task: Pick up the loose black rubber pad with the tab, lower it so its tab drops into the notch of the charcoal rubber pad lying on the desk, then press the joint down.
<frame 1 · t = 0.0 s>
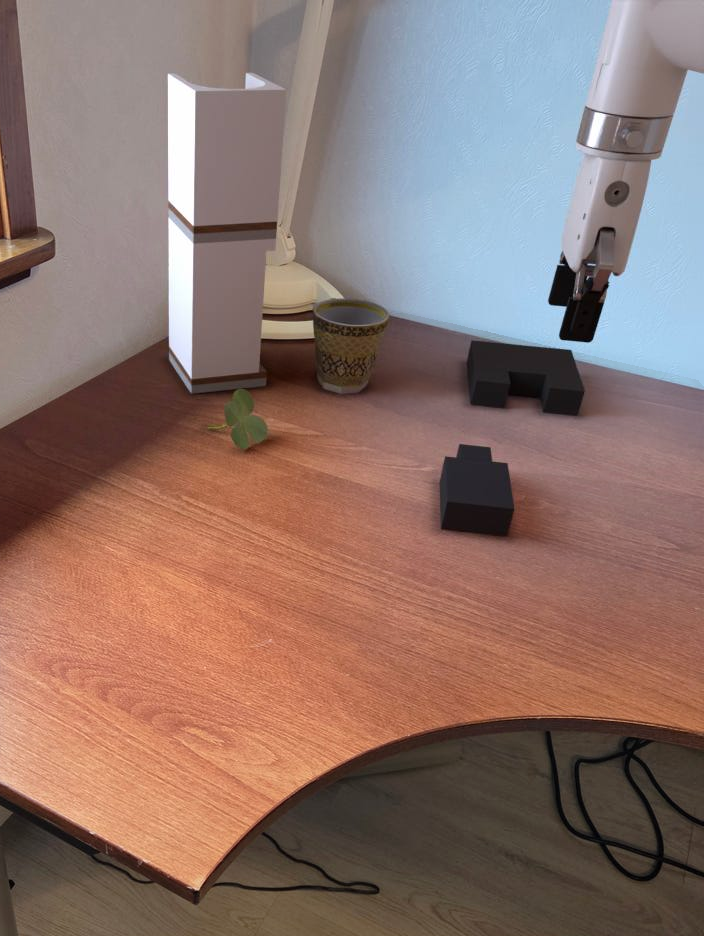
hand: (568, 322, 92), 19 cm above the table, tool pointing down, fingers open, 9 cm apart
notch pad: (519, 388, 125), on the table
green clover leaf: (238, 438, 111), on the table
ceramic cup: (338, 380, 125), on the table
tall square vase: (216, 373, 126), on the table
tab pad: (471, 508, 100), on the table
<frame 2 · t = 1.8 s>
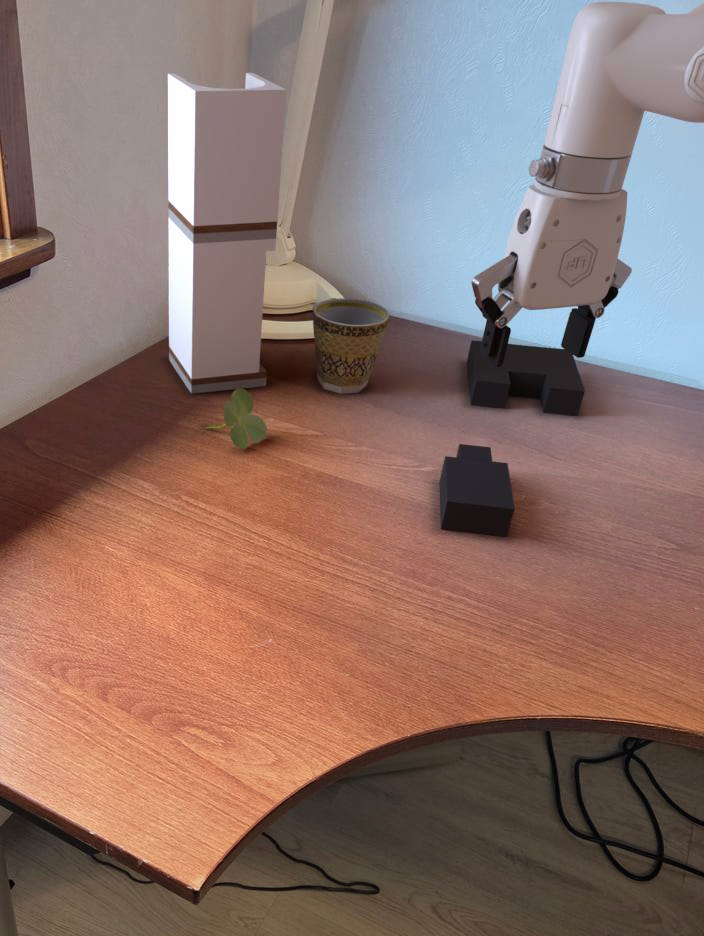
hand: (531, 357, 91), 17 cm above the table, tool pointing down, fingers open, 9 cm apart
nothing on the table moved.
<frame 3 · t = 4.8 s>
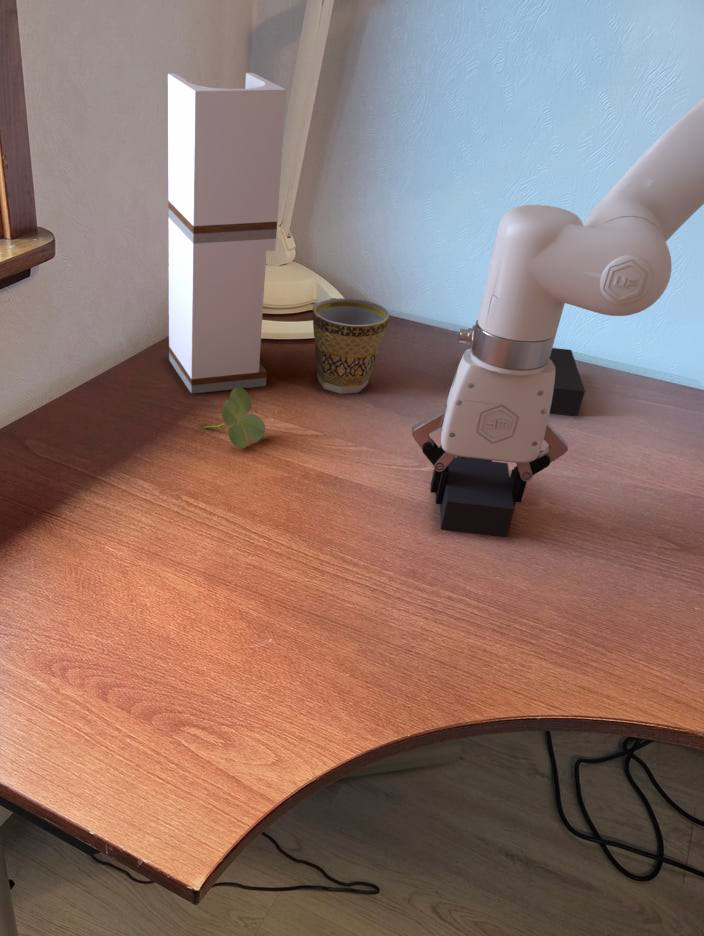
hand: (473, 501, 99), 1 cm above the table, tool pointing down, fingers closed on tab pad, 7 cm apart
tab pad: (471, 508, 100), on the table, touching gripper
everything else where it was.
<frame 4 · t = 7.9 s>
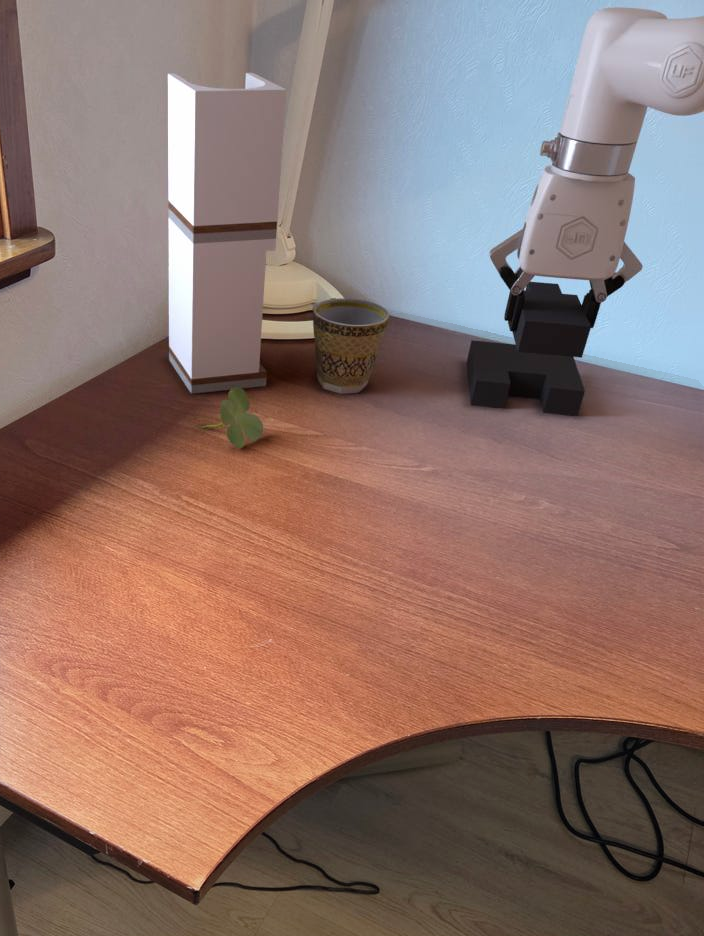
hand: (546, 329, 102), 15 cm above the table, tool pointing down, fingers closed on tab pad, 7 cm apart
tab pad: (543, 337, 103), point 14 cm above the table, touching gripper
everything else where it was.
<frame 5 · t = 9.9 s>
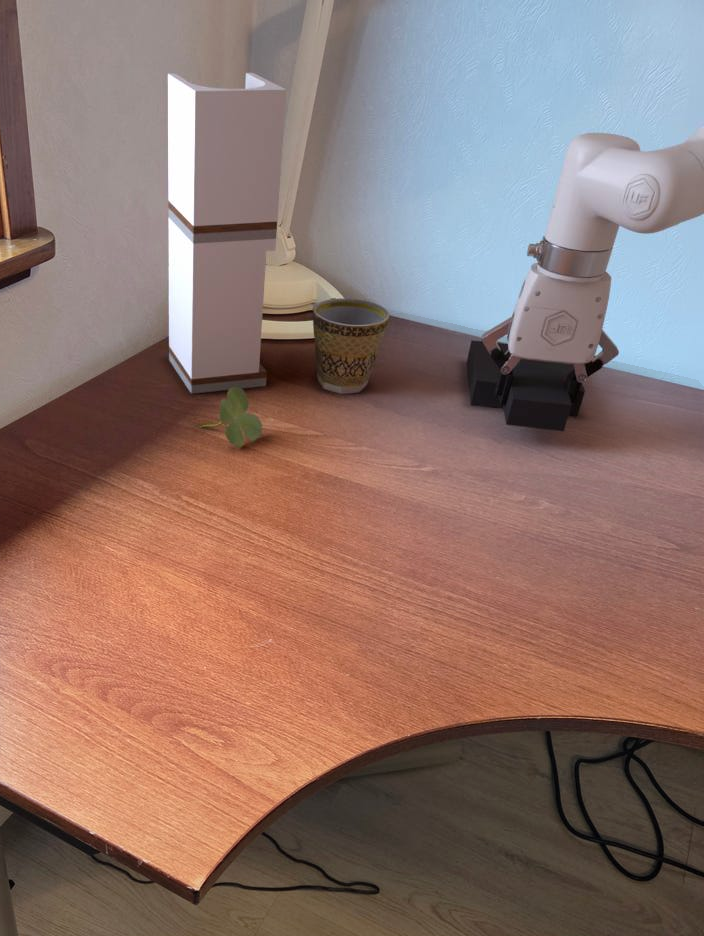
hand: (533, 403, 113), 3 cm above the table, tool pointing down, fingers closed on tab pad, 7 cm apart
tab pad: (531, 410, 114), point 2 cm above the table, touching gripper
everything else where it was.
when the fingers open (1 cm above the table, at t = 11.2 s): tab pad stays where it is, on the table.
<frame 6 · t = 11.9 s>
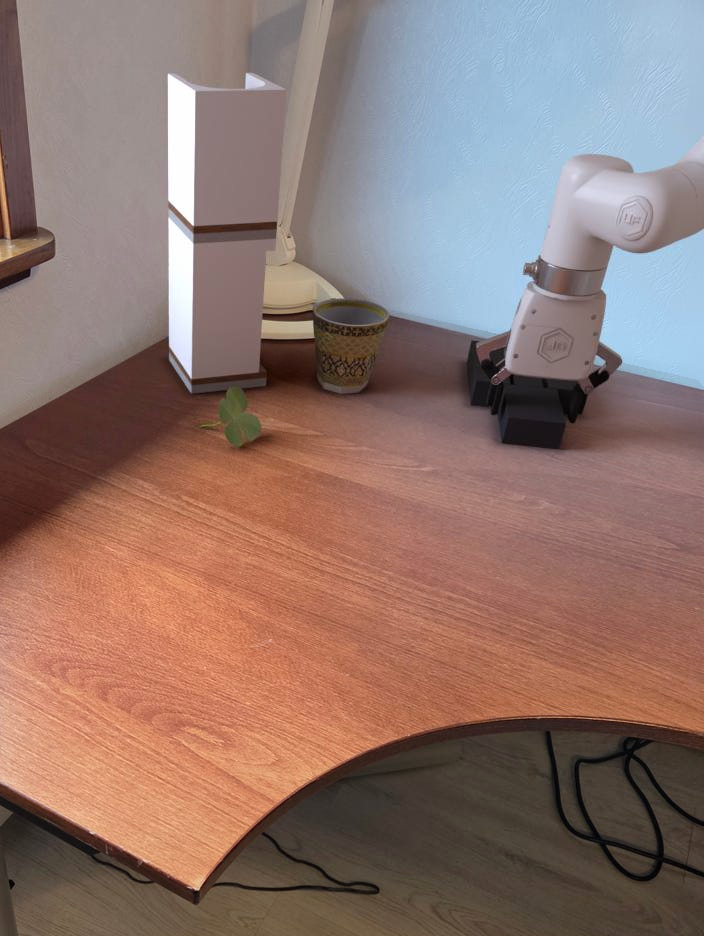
hand: (531, 414, 114), 2 cm above the table, tool pointing down, fingers open, 9 cm apart
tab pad: (526, 427, 116), on the table
everything else where it was.
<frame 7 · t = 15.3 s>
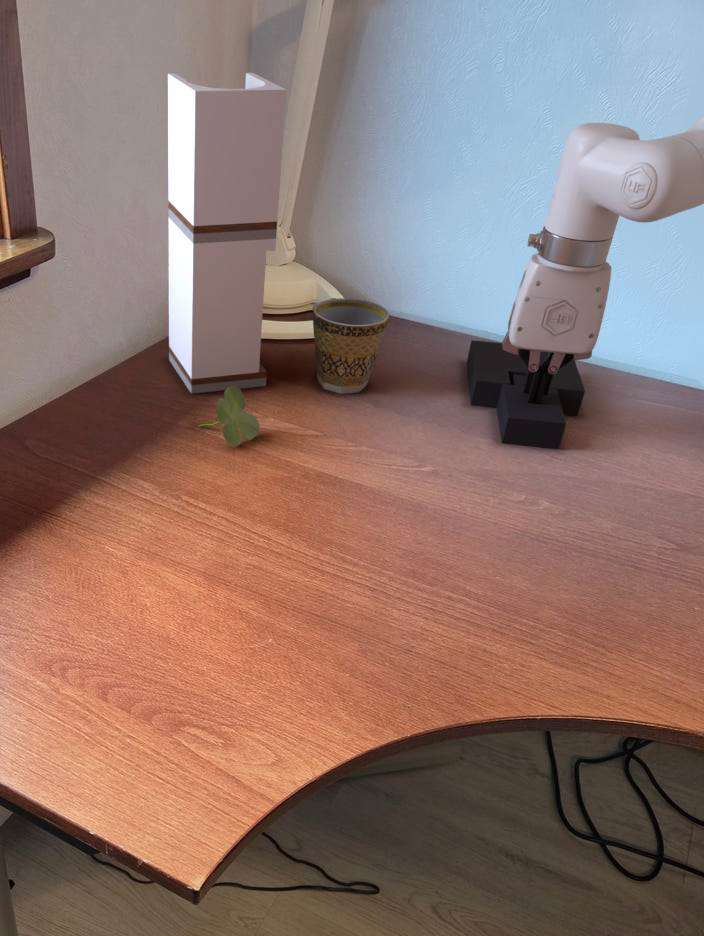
hand: (532, 398, 114), 4 cm above the table, tool pointing down, fingers closed
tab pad: (526, 428, 116), on the table, touching gripper
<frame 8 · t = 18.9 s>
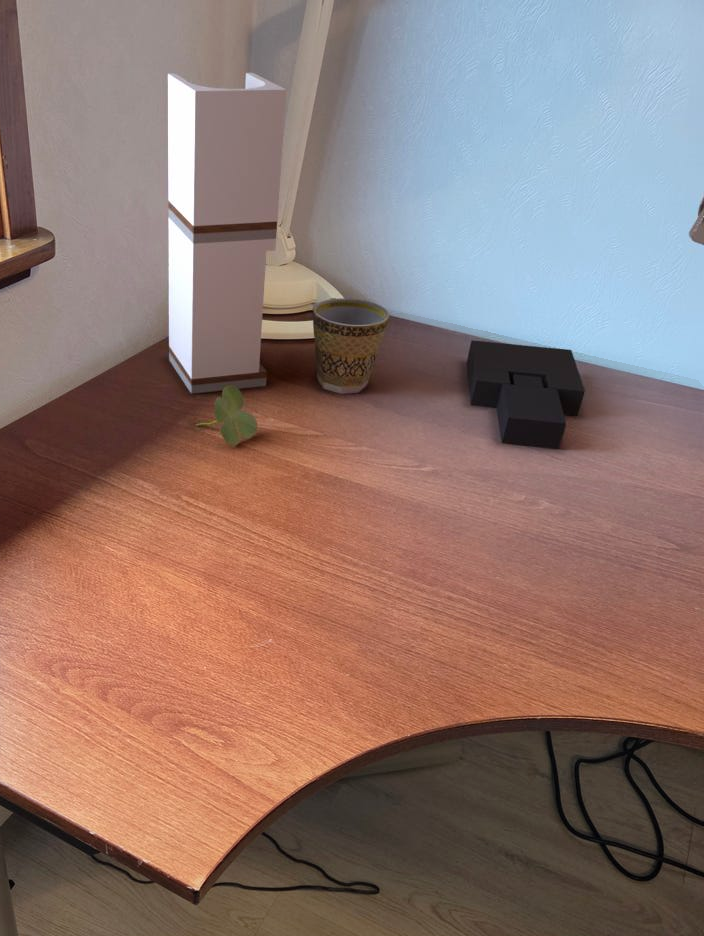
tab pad: (526, 427, 116), on the table
at the end: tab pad 0.1 cm from the target spot on the table beside the notch pad, on the table; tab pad tilted 0°; the gripper is holding nothing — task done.
